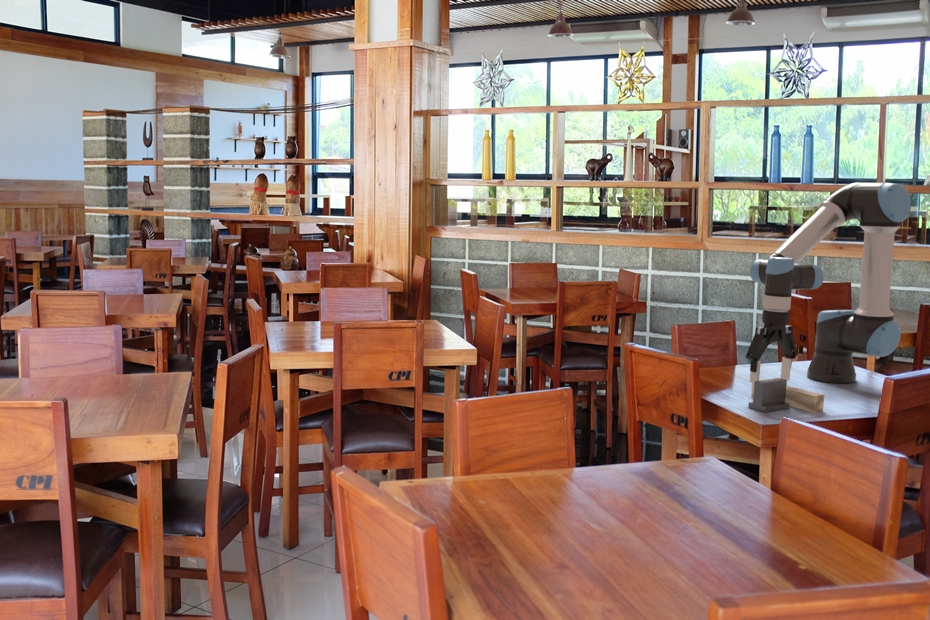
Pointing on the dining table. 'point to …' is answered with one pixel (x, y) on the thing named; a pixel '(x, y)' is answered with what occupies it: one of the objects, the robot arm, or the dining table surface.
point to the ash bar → (802, 399)
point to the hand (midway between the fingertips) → (769, 381)
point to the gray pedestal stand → (769, 395)
